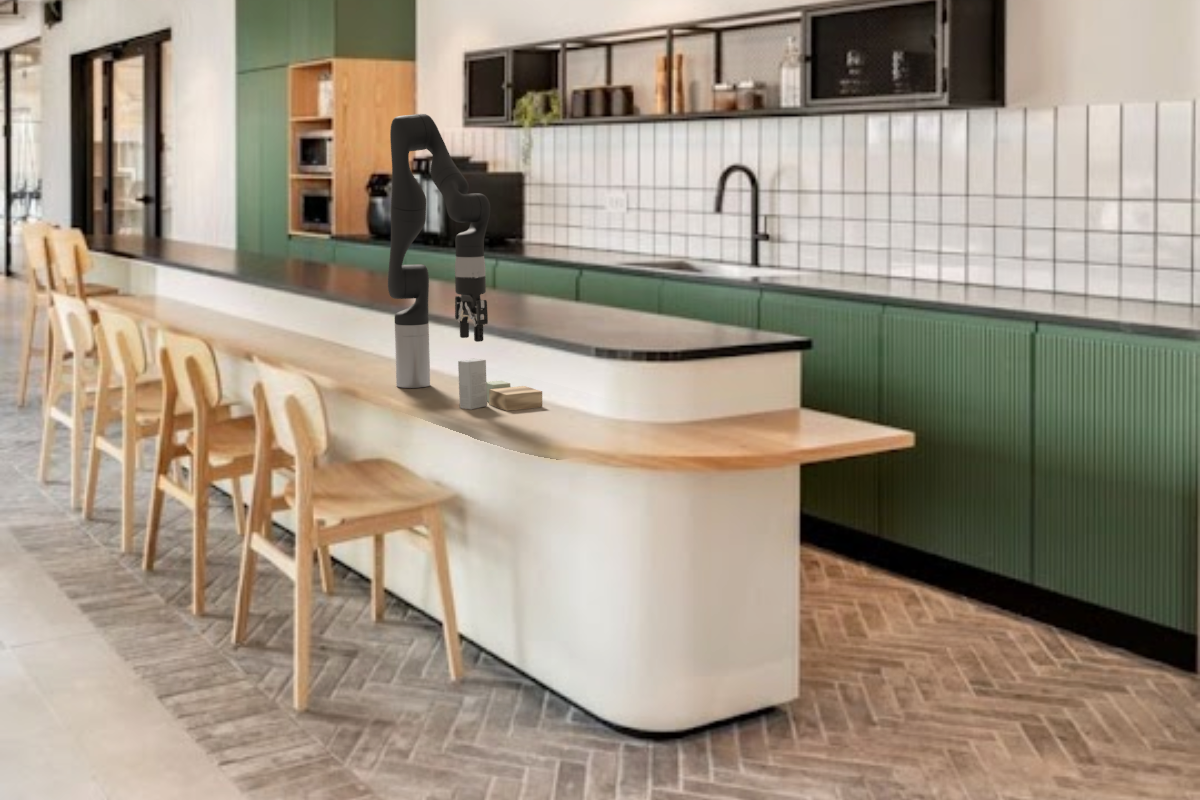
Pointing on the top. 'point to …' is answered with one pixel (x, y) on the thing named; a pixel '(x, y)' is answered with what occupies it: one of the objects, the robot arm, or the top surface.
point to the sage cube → (496, 386)
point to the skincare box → (472, 383)
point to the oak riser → (515, 398)
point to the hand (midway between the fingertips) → (471, 339)
